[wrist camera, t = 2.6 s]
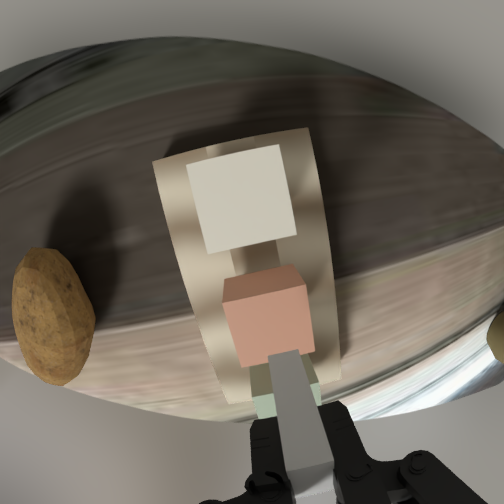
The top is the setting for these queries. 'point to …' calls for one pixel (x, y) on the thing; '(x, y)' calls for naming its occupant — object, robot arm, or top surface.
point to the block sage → (264, 389)
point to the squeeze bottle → (497, 337)
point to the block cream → (242, 198)
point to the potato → (51, 316)
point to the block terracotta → (268, 314)
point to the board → (254, 255)
